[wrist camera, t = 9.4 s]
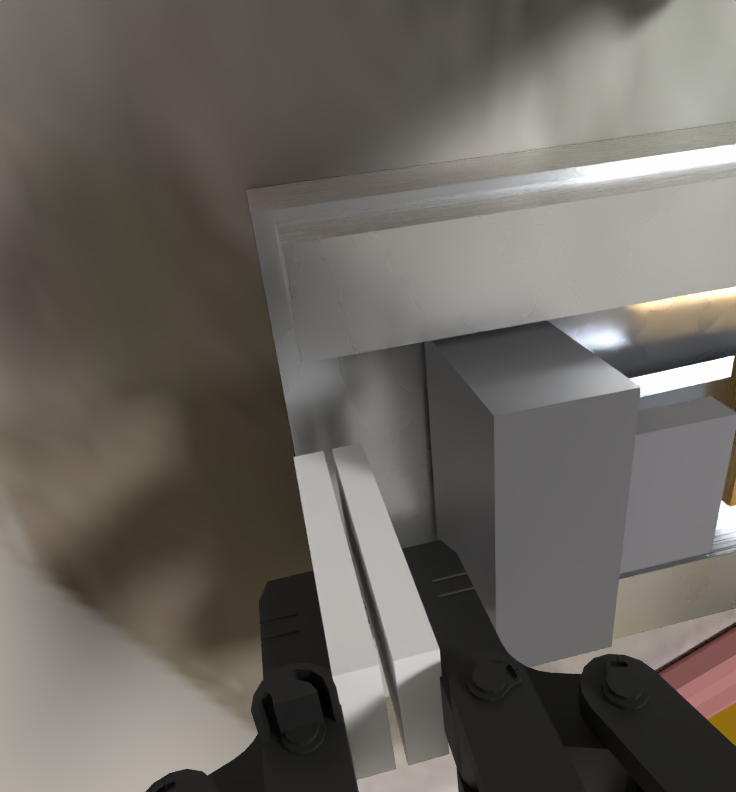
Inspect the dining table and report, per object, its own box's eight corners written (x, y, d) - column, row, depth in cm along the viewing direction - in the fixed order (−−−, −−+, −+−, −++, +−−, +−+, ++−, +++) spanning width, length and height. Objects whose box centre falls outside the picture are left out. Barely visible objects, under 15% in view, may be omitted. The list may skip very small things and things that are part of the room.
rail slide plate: (245, 189, 17) (255, 241, 11) (1014, 84, 21) (1345, 79, 15) (315, 564, 24) (346, 728, 18) (893, 436, 27) (1089, 536, 21)
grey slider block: (423, 330, 16) (493, 416, 11) (639, 293, 16) (778, 359, 12) (437, 548, 19) (496, 675, 15) (617, 508, 20) (720, 618, 16)
